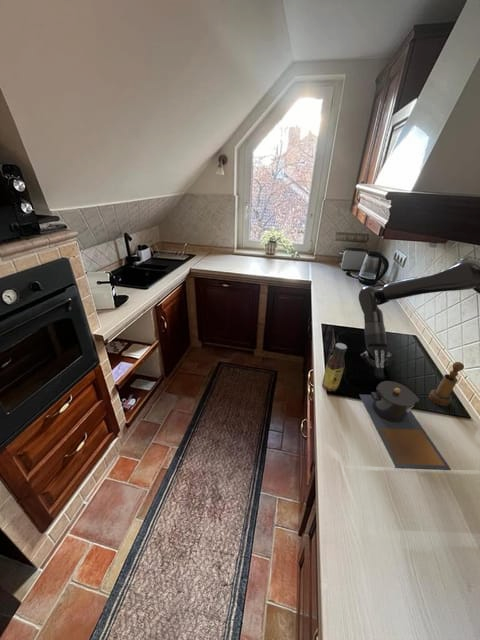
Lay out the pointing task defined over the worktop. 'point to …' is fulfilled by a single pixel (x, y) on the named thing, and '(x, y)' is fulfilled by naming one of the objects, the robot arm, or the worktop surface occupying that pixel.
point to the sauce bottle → (334, 368)
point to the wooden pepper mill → (446, 386)
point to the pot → (393, 401)
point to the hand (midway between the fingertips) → (379, 378)
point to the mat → (406, 441)
